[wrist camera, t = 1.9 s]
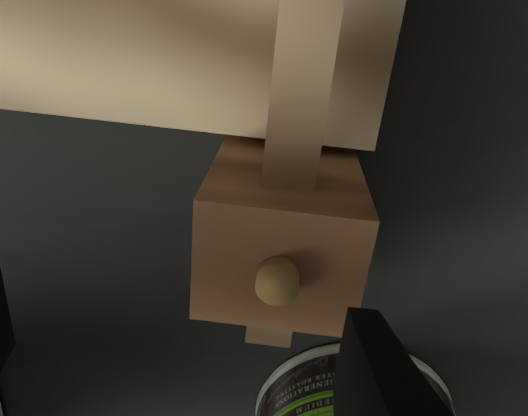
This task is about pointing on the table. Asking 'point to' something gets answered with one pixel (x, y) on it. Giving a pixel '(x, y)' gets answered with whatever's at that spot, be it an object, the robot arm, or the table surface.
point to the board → (186, 63)
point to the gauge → (286, 203)
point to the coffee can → (317, 385)
